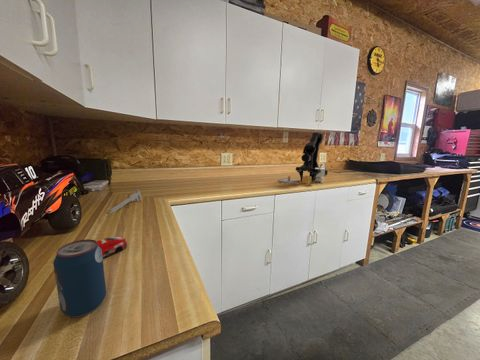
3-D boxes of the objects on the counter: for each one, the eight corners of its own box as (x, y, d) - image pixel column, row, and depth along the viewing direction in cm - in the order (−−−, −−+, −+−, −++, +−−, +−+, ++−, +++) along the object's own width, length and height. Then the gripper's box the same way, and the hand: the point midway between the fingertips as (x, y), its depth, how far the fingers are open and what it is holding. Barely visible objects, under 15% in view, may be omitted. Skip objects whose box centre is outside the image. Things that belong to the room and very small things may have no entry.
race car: (76, 273, 49) (73, 257, 48) (66, 265, 52) (64, 250, 51) (130, 248, 60) (129, 236, 59) (120, 243, 63) (119, 231, 62)
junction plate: (286, 179, 177) (286, 174, 176) (300, 181, 168) (300, 176, 167) (277, 181, 168) (277, 175, 167) (291, 183, 159) (291, 178, 158)
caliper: (139, 200, 106) (138, 188, 105) (141, 200, 106) (140, 188, 105) (107, 214, 86) (106, 199, 85) (110, 214, 86) (108, 199, 85)
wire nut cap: (305, 181, 168) (305, 175, 167) (311, 182, 165) (311, 175, 164) (302, 182, 165) (302, 175, 164) (308, 183, 161) (308, 176, 160)
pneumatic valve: (326, 182, 168) (328, 167, 166) (311, 181, 171) (312, 167, 168) (325, 180, 174) (326, 166, 171) (310, 179, 176) (312, 166, 173)
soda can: (114, 292, 43) (109, 238, 40) (91, 321, 36) (83, 257, 34) (80, 291, 43) (73, 237, 40) (50, 320, 36) (39, 257, 33)
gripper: (292, 160, 162) (291, 179, 165) (315, 162, 149) (313, 183, 152) (299, 159, 170) (298, 178, 173) (322, 161, 157) (319, 182, 160)
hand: (306, 180), depth 164 cm, fingers open, 9 cm apart
